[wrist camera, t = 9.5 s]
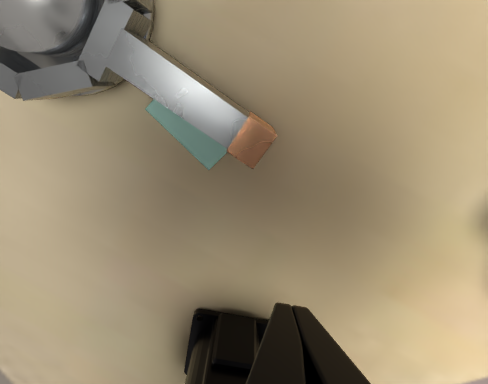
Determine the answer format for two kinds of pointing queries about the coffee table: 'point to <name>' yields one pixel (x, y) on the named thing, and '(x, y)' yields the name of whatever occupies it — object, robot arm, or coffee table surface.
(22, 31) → the grey metal bowl
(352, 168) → the coffee table surface
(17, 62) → the grey octagonal frying pan
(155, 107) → the align mark
